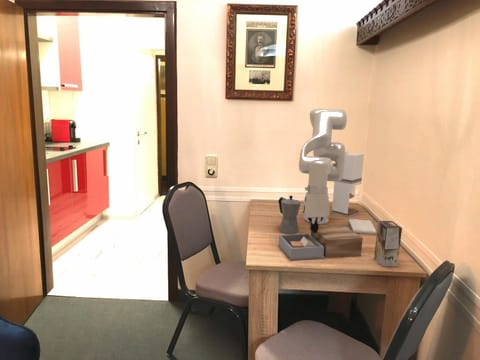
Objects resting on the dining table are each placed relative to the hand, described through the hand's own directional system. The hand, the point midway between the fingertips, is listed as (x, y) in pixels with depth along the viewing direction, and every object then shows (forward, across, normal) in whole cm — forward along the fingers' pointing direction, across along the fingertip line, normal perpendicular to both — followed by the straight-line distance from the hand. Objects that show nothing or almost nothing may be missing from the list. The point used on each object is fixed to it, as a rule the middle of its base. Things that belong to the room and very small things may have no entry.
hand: (314, 231), depth 163 cm
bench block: (+9, +10, 0) cm, 13 cm away
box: (+9, -6, 0) cm, 10 cm away
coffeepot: (+9, -2, +27) cm, 29 cm away
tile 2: (+4, -2, -1) cm, 5 cm away
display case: (+9, +41, +50) cm, 65 cm away
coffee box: (+9, +25, -15) cm, 31 cm away
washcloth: (+10, +38, +25) cm, 46 cm away
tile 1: (+5, -7, +2) cm, 9 cm away
